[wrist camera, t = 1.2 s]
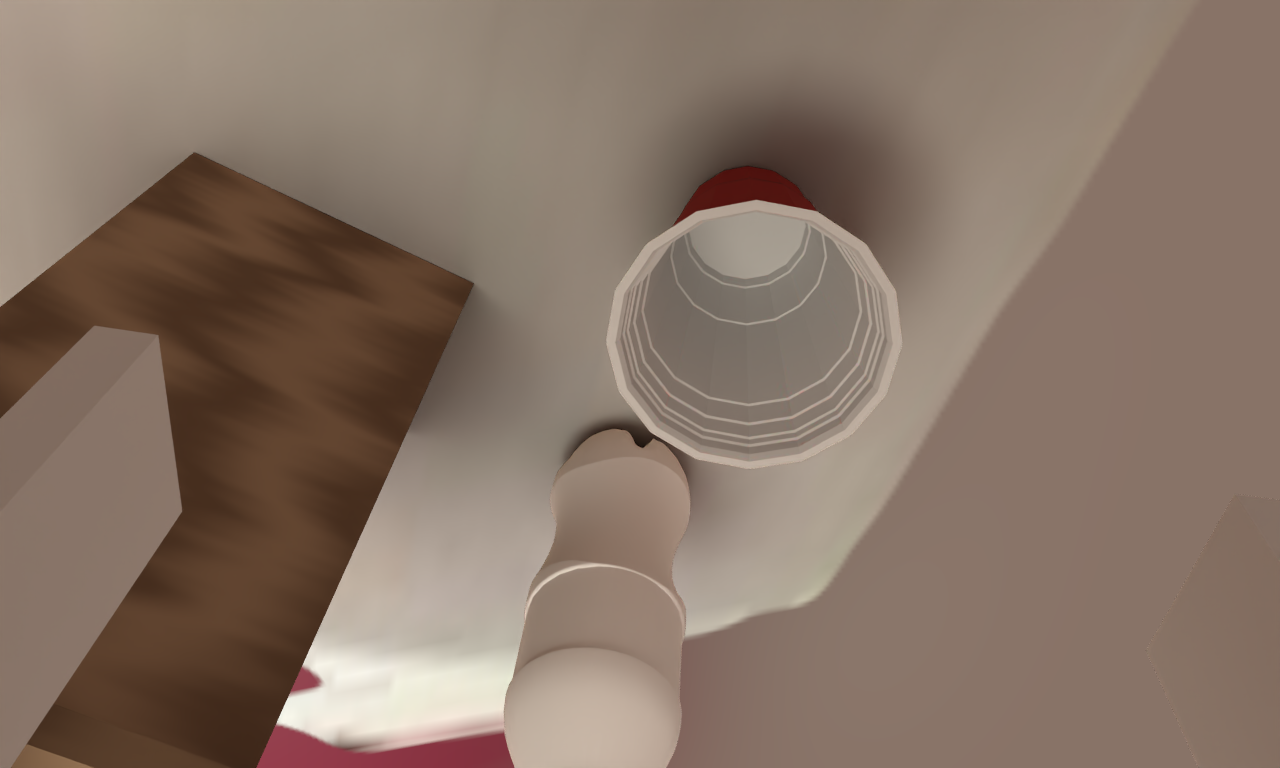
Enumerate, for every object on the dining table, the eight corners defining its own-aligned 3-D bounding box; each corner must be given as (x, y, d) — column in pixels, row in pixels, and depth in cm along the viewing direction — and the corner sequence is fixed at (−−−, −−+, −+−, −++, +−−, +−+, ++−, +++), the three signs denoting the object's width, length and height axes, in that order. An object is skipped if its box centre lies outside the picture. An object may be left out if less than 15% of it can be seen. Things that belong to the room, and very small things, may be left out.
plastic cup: (876, 102, 45) (920, 209, 35) (856, 324, 51) (889, 471, 41) (625, 104, 46) (597, 209, 36) (633, 322, 52) (611, 466, 42)
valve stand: (134, 323, 54) (-393, 856, 28) (186, 138, 48) (-411, 590, 23) (409, 442, 57) (153, 1024, 31) (486, 279, 51) (254, 823, 26)
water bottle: (585, 533, 59) (508, 983, 38) (538, 431, 56) (425, 863, 34) (708, 506, 57) (700, 959, 36) (668, 399, 54) (633, 831, 33)
